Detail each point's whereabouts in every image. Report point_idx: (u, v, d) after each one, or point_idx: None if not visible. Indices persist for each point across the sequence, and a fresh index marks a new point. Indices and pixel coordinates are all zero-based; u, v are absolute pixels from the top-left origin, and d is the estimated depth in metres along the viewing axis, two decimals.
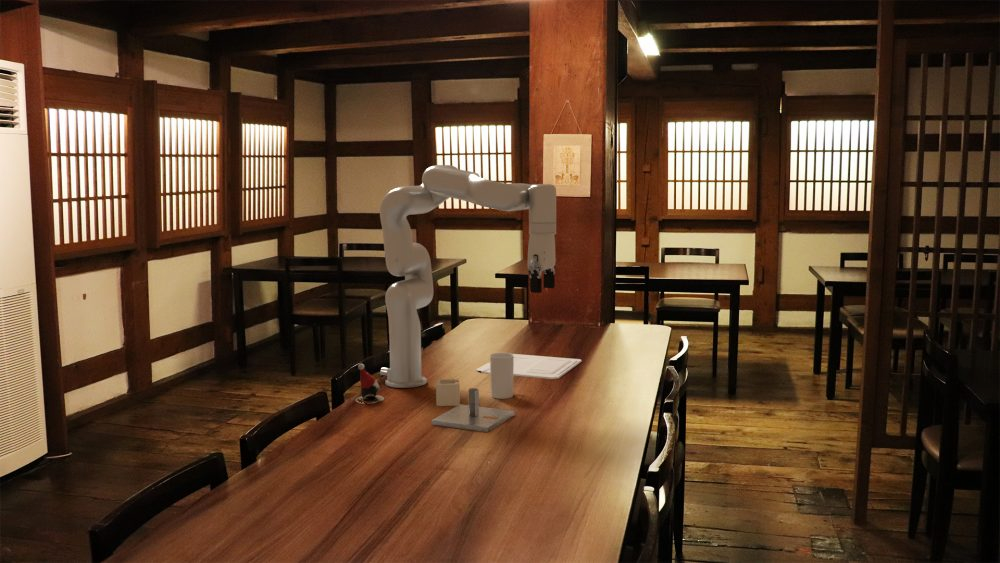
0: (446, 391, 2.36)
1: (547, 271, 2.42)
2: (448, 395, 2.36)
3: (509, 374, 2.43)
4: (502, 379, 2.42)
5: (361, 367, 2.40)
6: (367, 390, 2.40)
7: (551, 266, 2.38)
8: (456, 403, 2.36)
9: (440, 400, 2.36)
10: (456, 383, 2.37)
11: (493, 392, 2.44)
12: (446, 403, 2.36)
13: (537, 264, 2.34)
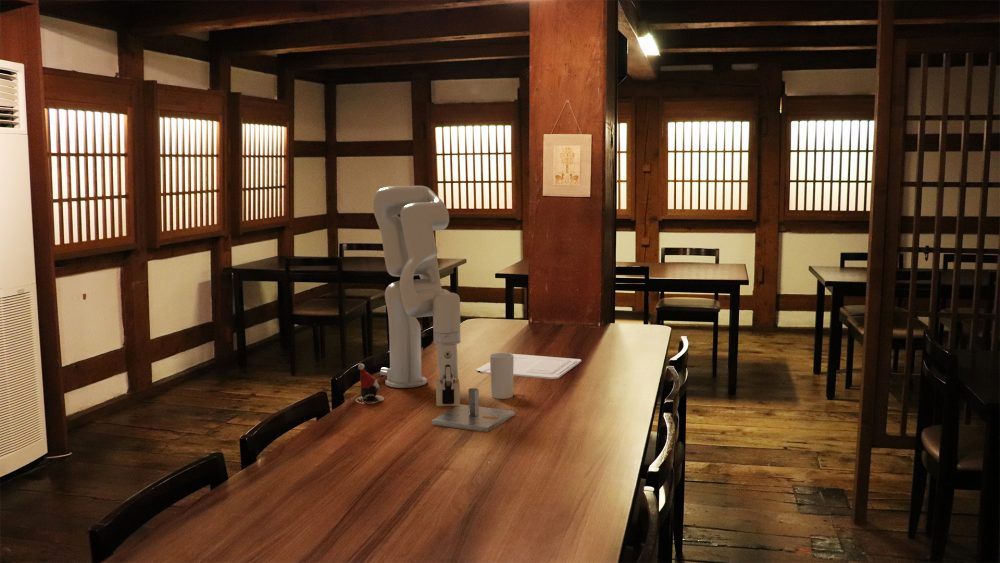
0: None
1: None
2: None
3: (509, 374, 2.43)
4: (502, 379, 2.42)
5: (361, 367, 2.40)
6: (367, 390, 2.40)
7: None
8: (456, 403, 2.36)
9: (440, 400, 2.36)
10: (456, 383, 2.37)
11: (493, 392, 2.44)
12: None
13: None
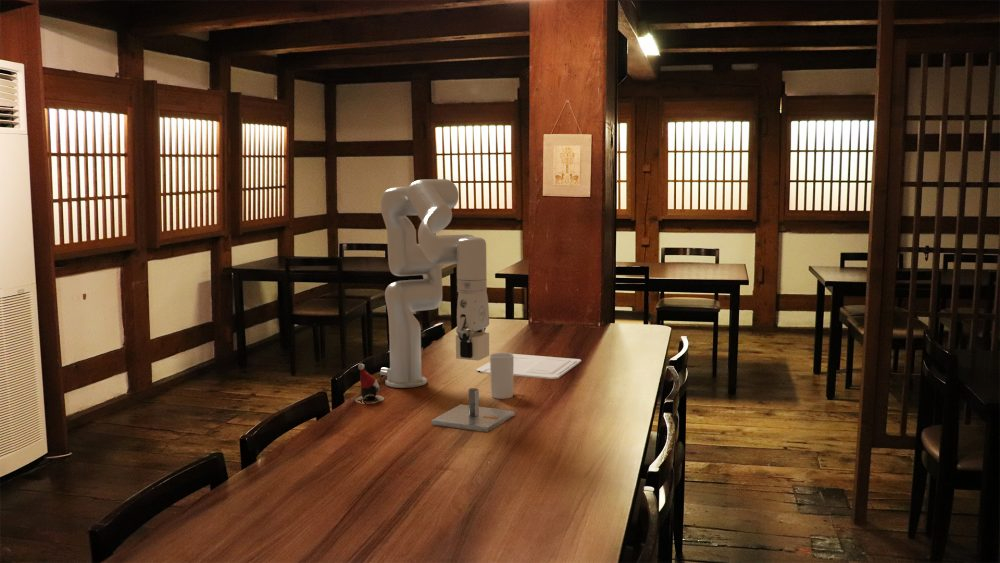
0: None
1: None
2: None
3: (509, 374, 2.43)
4: (502, 379, 2.42)
5: (361, 367, 2.40)
6: (367, 390, 2.40)
7: None
8: (475, 358, 2.17)
9: (459, 352, 2.18)
10: (477, 336, 2.17)
11: (493, 392, 2.44)
12: None
13: None
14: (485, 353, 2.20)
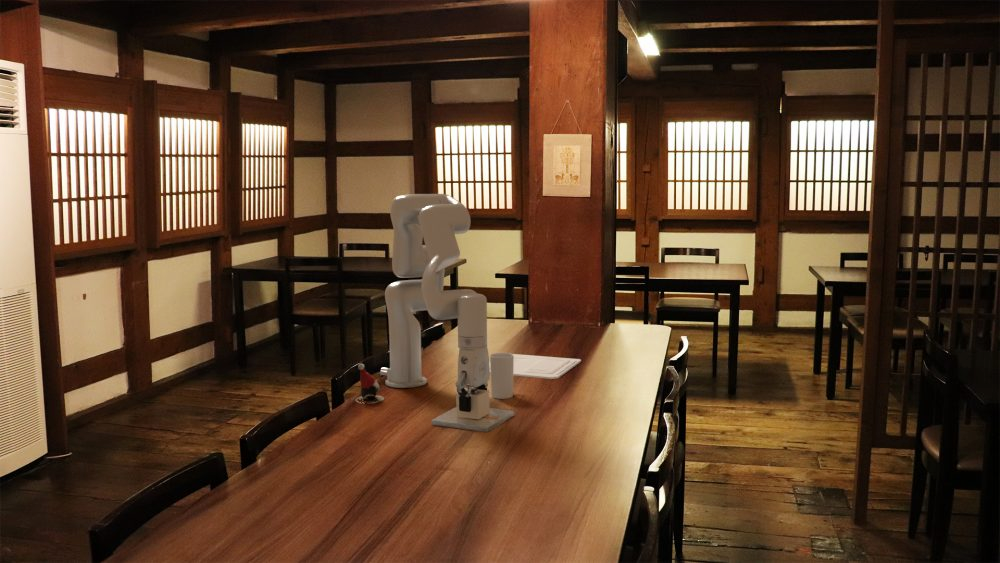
0: None
1: None
2: None
3: (509, 374, 2.43)
4: (502, 379, 2.42)
5: (361, 367, 2.40)
6: (367, 390, 2.40)
7: None
8: (475, 416, 2.19)
9: (460, 411, 2.21)
10: (477, 395, 2.19)
11: (493, 392, 2.44)
12: (466, 415, 2.20)
13: None
14: (485, 411, 2.22)
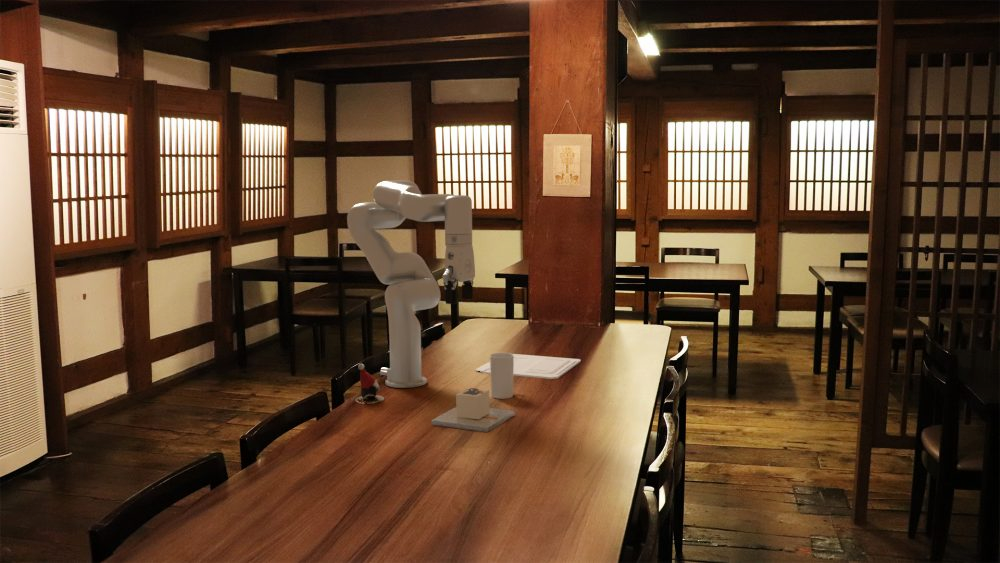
0: (466, 402, 2.19)
1: None
2: (467, 407, 2.19)
3: (509, 374, 2.43)
4: (502, 379, 2.42)
5: (361, 367, 2.40)
6: (367, 390, 2.40)
7: None
8: (475, 416, 2.19)
9: (460, 411, 2.21)
10: (477, 395, 2.19)
11: (493, 392, 2.44)
12: (466, 415, 2.20)
13: None
14: (485, 411, 2.22)
